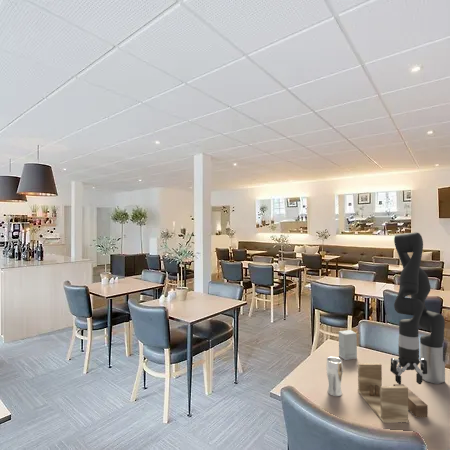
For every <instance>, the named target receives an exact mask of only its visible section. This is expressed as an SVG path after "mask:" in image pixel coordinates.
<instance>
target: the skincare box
mask: <svg viewBox="0 0 450 450" xmlns="http://www.w3.org/2000/svg"><path fill="white" fill-rule="evenodd" d="M357 335H358V333H356V332H355V331H353V330H351V329H347V330H340V331H339V330H338V356H339V357H340V359H343V360H344V361H348V360H354V359H358V348H357V347H358V344H357V343H358V340H357V339H358V336H357Z"/></svg>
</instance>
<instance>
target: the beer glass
mask: <svg viewBox="0 0 450 450" xmlns="http://www.w3.org/2000/svg"><path fill="white" fill-rule="evenodd" d="M343 366H344V365H343V360H342V358H341V357H340V358H339V357H337V356H328V357H327V358H326V376H327V381H328V383H327V384H328V387H327V393H328V395H331V396H333V397H340V396H343V395H342V394H343V393H342V380H343V374H344V371H343V370H344V368H343Z"/></svg>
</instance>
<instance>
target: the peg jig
mask: <svg viewBox="0 0 450 450" xmlns="http://www.w3.org/2000/svg"><path fill="white" fill-rule="evenodd" d="M382 374H383V373H382V364H381V363H379V362H377V363H375V362H373V363H372V362H371V363H370V362H369V363H365V362H364V363H359V362H358V363H357V382H358V383H357V384H358V385H357V386H358V387H357V392H358V394H359V395H360V396H361V397H362V399H364V401H365V403H367V405H369V407H370V409H372V411H373V412H374V413H375V415H376V416H377V417H378V418H379V420H380V421H381V422H382V423H384V424H385V423H386V424H390V423H391V424H392V423H393V424H394V423H398V422H401V423H402V422H406V423H410V419H409V409H408V389H409V387H408V386H406V385H405V386H393V385H391V386H390V385H389V386H388V385H386V386H385V385H382V384H383V382H382V381H383V380H382V379H383V378H382V377H383V375H382ZM401 423H400V424H401Z"/></svg>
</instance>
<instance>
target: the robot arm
mask: <svg viewBox="0 0 450 450" xmlns="http://www.w3.org/2000/svg"><path fill="white" fill-rule="evenodd" d="M393 242H394V246H395V249H396V253H397V255H398V258H399V260H400V263H401V266H402V270H401V272H400V275H399V289H398V293H397V295H396V298H395V300H394V304H393V308H394V311H395V312H396V313H397V314H399V315H405V316H406V315H408V316H412V317H411V318H404V319H400V320H399V321H398V338H397V339H398V344H397V345H398V348H397V349H398V358H394V357H391V359H390V372H391V373H392V374H393V375H394V376H395V377H394V379H395V380H394V381H395V382H396V384H402V376H401V375H402V374H403V373H404V372H406V371H415V372H416V375H415V376H416V377H415V378H416V383H417V385H422V384H423V380H424V381H425V382H427V383H431V384H437V385H438V384H439V385H440V384H443V383H445V382H446V362H445V361H444V357H443V356H444V355H443V354H444V352H443V351H444V349H443V348H444V347H443V346H444V344H443V343H444V340H445V328H446V327H445V324H446V322H445V317H444V316H443V314H441V313H439V312H435V311H431V310H428V309H427V307H426V300H427V298H428V296H429V294H430V292H431V288H432V287H431V283H430V280H429V277H428V274H427V273H426V272H425V271H424V269H422V268H421V262H422V257H423V250H424V240H423V237H422V235H421V233H420V232H416V231H415V232H405V233H397V234H396V235H394V238H393ZM409 253H412V254H411V257H410V255H409ZM408 296H410V297H408ZM419 328H421V329H424V330H427V331H430V334H429V335H427V334H424V335H421V336H420V338H419ZM419 364H420V366H418V365H419Z"/></svg>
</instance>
